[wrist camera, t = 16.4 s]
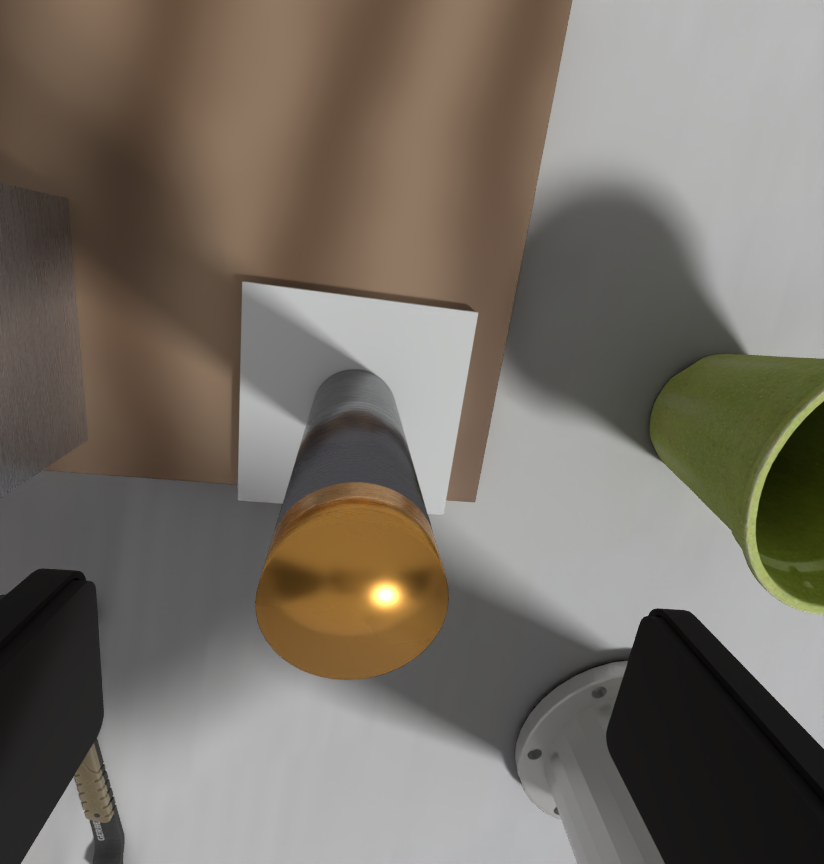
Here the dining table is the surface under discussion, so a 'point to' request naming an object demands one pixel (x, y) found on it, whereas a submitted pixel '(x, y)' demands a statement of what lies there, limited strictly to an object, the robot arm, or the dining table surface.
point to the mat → (342, 350)
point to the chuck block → (37, 336)
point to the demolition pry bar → (100, 807)
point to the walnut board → (272, 187)
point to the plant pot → (754, 461)
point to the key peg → (352, 542)
